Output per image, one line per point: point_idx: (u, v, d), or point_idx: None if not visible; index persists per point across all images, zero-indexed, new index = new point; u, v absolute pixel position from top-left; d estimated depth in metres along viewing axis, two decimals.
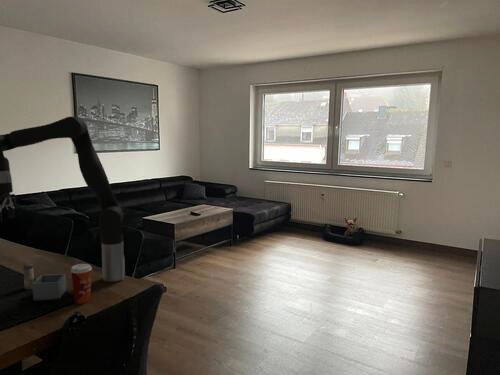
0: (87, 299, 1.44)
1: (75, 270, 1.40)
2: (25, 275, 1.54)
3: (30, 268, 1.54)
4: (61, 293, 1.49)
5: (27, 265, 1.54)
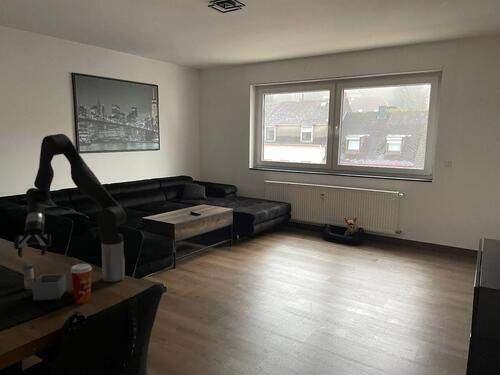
0: (87, 299, 1.44)
1: (75, 270, 1.40)
2: (25, 275, 1.54)
3: (30, 268, 1.54)
4: (61, 293, 1.49)
5: (27, 265, 1.54)
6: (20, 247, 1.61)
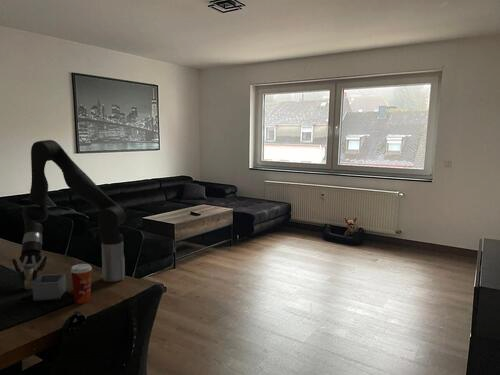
0: (87, 299, 1.44)
1: (75, 270, 1.40)
2: (25, 275, 1.54)
3: (31, 268, 1.54)
4: (61, 293, 1.49)
5: (27, 265, 1.54)
6: (23, 271, 1.54)
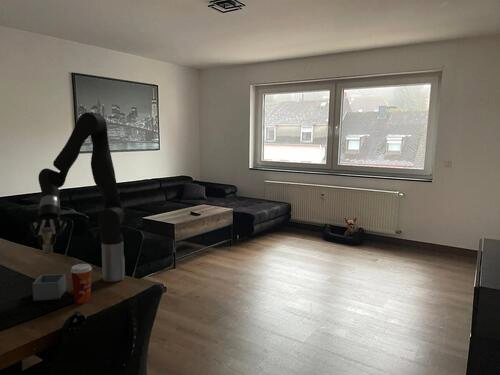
0: (87, 299, 1.44)
1: (75, 270, 1.40)
2: (43, 239, 1.45)
3: (49, 231, 1.45)
4: (61, 293, 1.49)
5: (45, 228, 1.45)
6: (41, 234, 1.45)
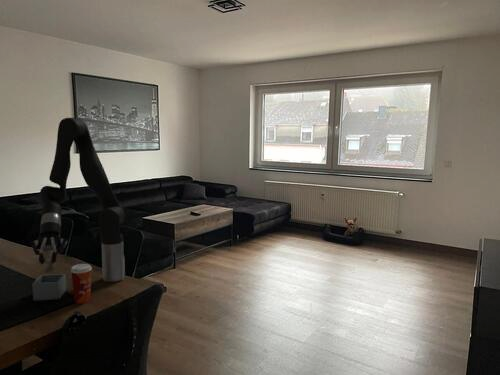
0: (87, 299, 1.44)
1: (75, 270, 1.40)
2: (44, 257, 1.45)
3: (50, 250, 1.46)
4: (61, 293, 1.49)
5: (46, 247, 1.46)
6: (42, 252, 1.46)
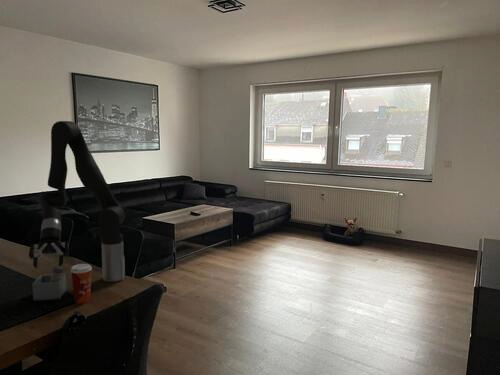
0: (87, 299, 1.44)
1: (75, 270, 1.40)
2: (52, 278, 1.48)
3: (60, 273, 1.49)
4: (61, 293, 1.49)
5: (58, 269, 1.49)
6: (36, 257, 1.46)
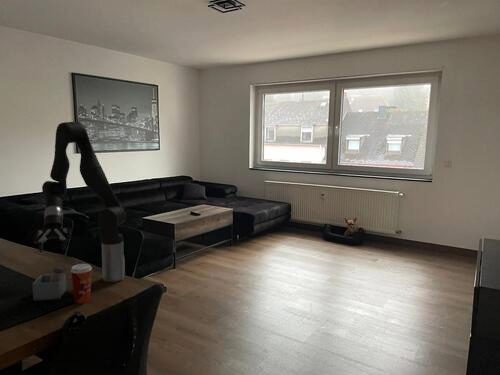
0: (87, 299, 1.44)
1: (75, 270, 1.40)
2: (52, 278, 1.48)
3: (60, 273, 1.49)
4: (61, 293, 1.49)
5: (58, 269, 1.49)
6: (40, 242, 1.58)
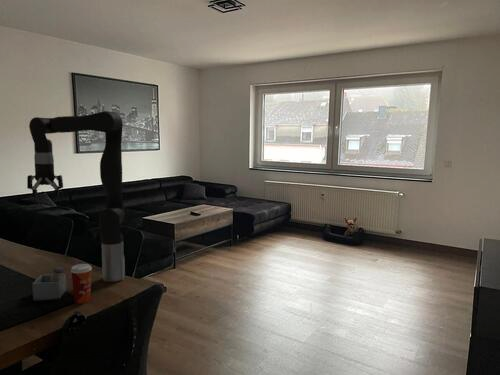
0: (87, 299, 1.44)
1: (75, 270, 1.40)
2: (52, 278, 1.48)
3: (60, 273, 1.49)
4: (61, 293, 1.49)
5: (58, 269, 1.49)
6: (34, 190, 1.65)
